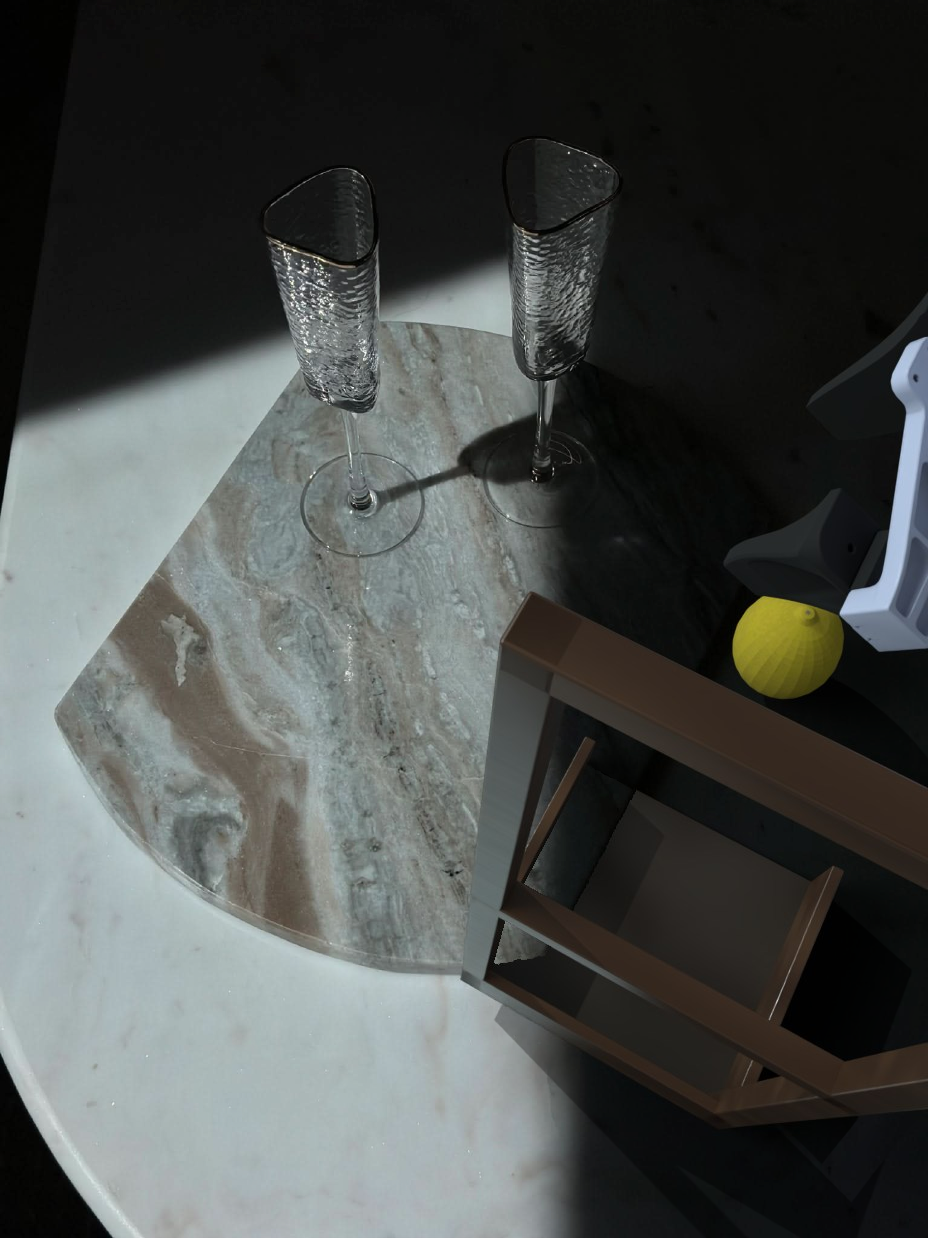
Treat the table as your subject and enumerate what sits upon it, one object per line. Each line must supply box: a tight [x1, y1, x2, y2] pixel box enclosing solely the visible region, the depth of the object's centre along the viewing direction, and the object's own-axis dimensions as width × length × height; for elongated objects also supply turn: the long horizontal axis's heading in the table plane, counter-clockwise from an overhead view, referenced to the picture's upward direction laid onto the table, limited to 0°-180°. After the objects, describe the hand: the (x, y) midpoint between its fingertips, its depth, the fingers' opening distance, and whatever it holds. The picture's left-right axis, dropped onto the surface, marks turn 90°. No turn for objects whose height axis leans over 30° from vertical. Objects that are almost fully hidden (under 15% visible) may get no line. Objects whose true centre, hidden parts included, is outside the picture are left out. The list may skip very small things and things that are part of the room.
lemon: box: [732, 596, 845, 700], centre depth 62 cm, size 6×6×8 cm
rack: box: [459, 590, 928, 1130], centre depth 40 cm, size 13×14×42 cm
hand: (785, 493), depth 44 cm, fingers open, 7 cm apart
